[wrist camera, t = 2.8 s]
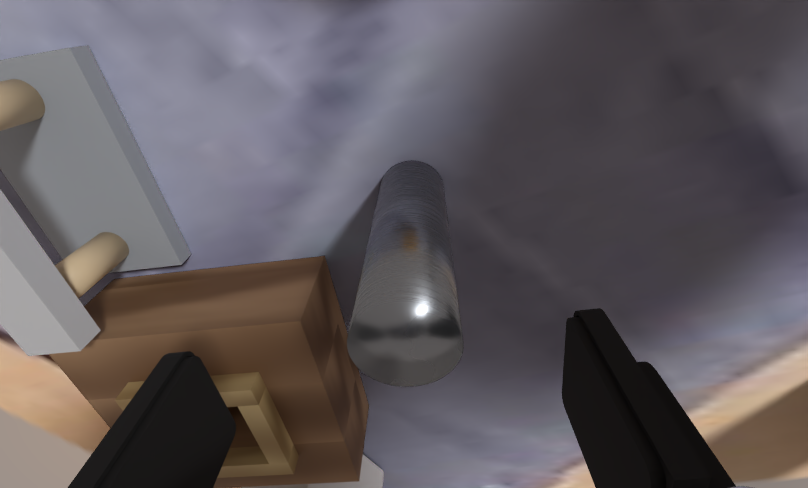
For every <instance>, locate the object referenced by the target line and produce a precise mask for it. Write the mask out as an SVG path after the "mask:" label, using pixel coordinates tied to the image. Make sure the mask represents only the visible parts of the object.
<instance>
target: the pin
mask: <svg viewBox="0 0 808 488" xmlns="http://www.w3.org/2000/svg"><path fill="white" fill-rule="evenodd" d="M347 349H348V353H349V355H350V358H351V359H352V361H353V363H354V364H355V365H356V366H357V368H359V369H360V370H361V371H362V372H363V373H364V374H366V375H367V376H369V377H371V378H372V379H374V380H377V381H379V382H382V383H385V384H389V385H394V386H402V387H413V386H421V385H425V384H429V383H432V382H435V381H437V380H439V379H441V378H443V377H445V376H446V375H447V374H449V373H450V372H451V371H452V370H453V369H454V368H455V367H456V365H457V364H458V363H459V361H460V359H461V356H462V353H463V336H462V328H461V320H460V312H459V304H458V297H457V289H456V281H455V273H454V265H453V257H452V249H451V241H450V233H449V225H448V217H447V209H446V201H445V193H444V186H443V182H442V179H441V177H440V175H439V174H438V172H437V171H436V170H435V169H434V168H432V167H431V166H430V165H428V164H426V163H423V162H420V161H412V160H411V161H404V162H400V163H398V164H396V165H394V166H393V167H391V168H390V169H389V170H388V171H387V172H386V173H385V175H384V177H383V179H382V181H381V185H380V190H379V194H378V199H377V203H376V208H375V213H374V217H373V222H372V226H371V231H370V235H369V240H368V245H367V249H366V254H365V258H364V263H363V268H362V272H361V277H360V281H359V286H358V291H357V295H356V300H355V304H354V309H353V314H352V318H351V323H350V327H349V332H348V337H347Z"/></svg>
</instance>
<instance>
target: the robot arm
mask: <svg viewBox="0 0 808 488" xmlns="http://www.w3.org/2000/svg"><path fill="white" fill-rule="evenodd" d="M562 399H563V404H564V407H565V410H566V413H567V415H568V418H569V420H570V423H571V425H572V428H573V430H574V433H575V436H576V438H577V441H578V443H579V446H580V448H581V451H582V454H583V456H584V459H585V461H586V464H587V466H588V469H589V471H590V474H591V477H592V479H593V482H594V484H595V487H596V488H753V487H745V486H737V487H736V486H735V484H734V483H733V481H732V480H731V478H730V477H729V475H728V474H727V472H726V471H725V470H724V468H723V467H722V465H721V464H720V462H719V461H718V459H717V458H716V456H715V455H714V454H713V452H712V451H711V449H710V448H709V446H708V445H707V443H706V442H705V440H704V439H703V438H702V436H701V435H700V433H699V432H698V430H697V429H696V427H695V426H694V424H693V423H692V422H691V420H690V419H689V417H688V416H687V414H686V413H685V411H684V410H683V408H682V407H681V406H680V404H679V403H678V401H677V400H676V398H675V397H674V395H673V394H672V392H671V391H670V390H669V388H668V387H667V385H666V384H665V382H664V381H663V379H662V378H661V376H660V375H659V374H658V372H657V371H656V370H655V368H654V367H653V366H652V365H651V364H649V363H648V362H636V360H635V359H634V357H633V356H632V354H631V353H630V351H629V349H628V348H627V346H626V345H625V343H624V342H623V340H622V339H621V337H620V336H619V334H618V332H617V331H616V329H615V328H614V326H613V325H612V323H611V322H610V320H609V319H608V317H607V315H606V314H605V312H604V311H603V310H602V309H600V308H599V309H590V310H580V311H575V313H574V317H572V318H568V319H567V322H566V338H565V353H564V368H563V384H562ZM235 432H236V423H235V421H234V419H233V417H232V415H231V413H230V411H229V410H228V408H227V406H226V404H225V402H224V400H223V399H222V397H221V395H220V393H219V391H218V389H217V388H216V386H215V384H214V382H213V380H212V378H211V377H210V375H209V373H208V371H207V369H206V367H205V366H204V364H203V362H202V360H201V359H200V357H198V356H195V355H194V353H192V352H191V351H186V352H176V353H168V354H166V355H164V356H163V357H162V358H161V359H160V361H159V362H158V364H157V365H156V366H155V368H154V369H153V370H152V372H151V373H150V375H149V376H148V377H147V379H146V380H145V382H144V383H143V384H142V386H141V387H140V388H139V390H138V391H137V393H136V394H135V395H134V397H133V398H132V400H131V401H130V402H129V404H128V405H127V406H126V408H125V409H124V411H123V412H122V413H121V415H120V416H119V417H118V419H117V420H116V422H115V423H114V424H113V426H112V427H111V429H110V430H109V431H108V433H107V434H106V435H105V437H104V438H103V440H102V441H101V442H100V444H99V445H98V447H97V448H96V449H95V451H94V452H93V453H92V455H91V456H90V458H89V459H88V460H87V462H86V463H85V465H84V466H83V467H82V469H81V470H80V471H79V473H78V474H77V476H76V477H75V478H74V480H73V481H72V482H71V484H70V485H69V487H68V488H213V487H214V484H215V482H216V480H217V477H218V475H219V472H220V470H221V468H222V465H223V463H224V460H225V458H226V456H227V453H228V451H229V448H230V446H231V444H232V441H233V439H234V436H235Z"/></svg>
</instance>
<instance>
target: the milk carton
mask: <svg viewBox="0 0 808 488" xmlns="http://www.w3.org/2000/svg"><path fill="white" fill-rule="evenodd" d="M383 475H384V472H383V470H382V469H381V468H379V467H378V466H377V465H376V464H374V463H373V462H372V461H371V460H369V459H368V458H367V457H366V456H365V455H363V456H362V464H361V471H360V479H359V481H358V482H337V483H316V484H295V485H274V486H253V487H241V488H383Z"/></svg>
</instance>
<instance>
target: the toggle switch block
mask: <svg viewBox="0 0 808 488" xmlns="http://www.w3.org/2000/svg"><path fill="white" fill-rule="evenodd" d="M84 308H85V309H86V310H87V312H88V313H89V315H90V316H91V317H92V319H93V320H94V322H95V323H96V325H97V326H98V327H99V329H100V330H101V331H100V332H99V333H98V334H97V335H96V336H95V337H94V338H93V339H92V340H91V341H90V342H89V343H88V344H87V345H86V346H85V347H84V348H83V349H82V350H81V351H77V352H66V353H55V354H49V355H50V356H51V357H52V358H53V360H54V361H55V362H56V363H57V364H58V366H59V367H60V368H61V369H62V370H63V372H64V373H65V374H66V375H67V376H68V378H69V379H70V380H71V381H72V382H73V384H74V385H75V386H76V387H77V388H78V390H79V391H80V392H81V393H82V394H83V396H84V397H85V398H86V399H87V400H88V402H89V403H90V404H91V405H92V406H93V408H94V409H95V410H96V411H97V413H98V414H99V415H100V416H101V417H102V419H103V420H104V421H105V422H106V423H107V425H108V426H109V427H110V428H111V427H112V426H113V424H114V423H115V422H116V420H117V419H118V417H119V416H120V415H121V413H122V412H123V411H124V409H125V408H126V406H127V405H128V404H129V402H130V401H131V400H132V398H133V397H134V395H135V394H136V393H137V391H138V390H139V388H140V387H141V386H142V384H143V383H144V382H145V380H146V379H147V377H148V376H149V375H150V373H151V372H152V370H153V369H154V368H155V366H156V365H157V364H158V362H159V361H160V359H161V358H162V357H163V356H164V355H166V354H168V353H176V352H186V351H191V352H192V353H194V355H195V356H198V357H200V359H201V360H202V362H203V364H204V366H205V367H206V369H207V371H208V373H209V375H210V377H211V378H212V380H213V382H214V384H215V386H216V388H217V389H218V391H219V393H220V395H221V397H222V399H223V400H224V402H225V404H226V406H227V408H228V410H229V411H230V413H231V415H232V417H233V419H234V421H235V423H236V432H235V436H234V439H233V441H232V444H231V446H230V448H229V451H228V453H227V456H226V458H225V460H224V463H223V465H222V468H221V470H220V472H219V475H218V477H217V480H216V482H215V484H214V487H213V488H232V487H253V486H274V485H295V484H316V483H337V482H358V481H359V479H360V471H361V464H362V456H363V448H364V440H365V432H366V424H367V417H368V409H369V404H368V401H367V397H366V394H365V391H364V387H363V384H362V380H361V377H360V374H359V370H358V368H357V366H356V365H355V364H354V363H353V361H352V359H351V358H350V355H349V353H348V349H347V337H348V333H347V330H346V326H345V323H344V319H343V316H342V313H341V309H340V306H339V303H338V299H337V296H336V292H335V289H334V286H333V282H332V279H331V276H330V272H329V269H328V265H327V262H326V259H325V256H320V257H311V258H302V259H292V260H283V261H274V262H265V263H256V264H247V265H238V266H228V267H219V268H210V269H201V270H192V271H183V272H174V273H165V274H155V275H146V276H137V277H128V278H119V279H114V280H113V281H112V282H110V283H109V284H108V285H107V286H106V287H105V288H104V289H103V290H102V291H101V292H99V293H98V294H97V295H96V296H95V297H94V298H93V299H92V300H91V301H90V302H88V303H87V304H86V305H85V306H84Z"/></svg>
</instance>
